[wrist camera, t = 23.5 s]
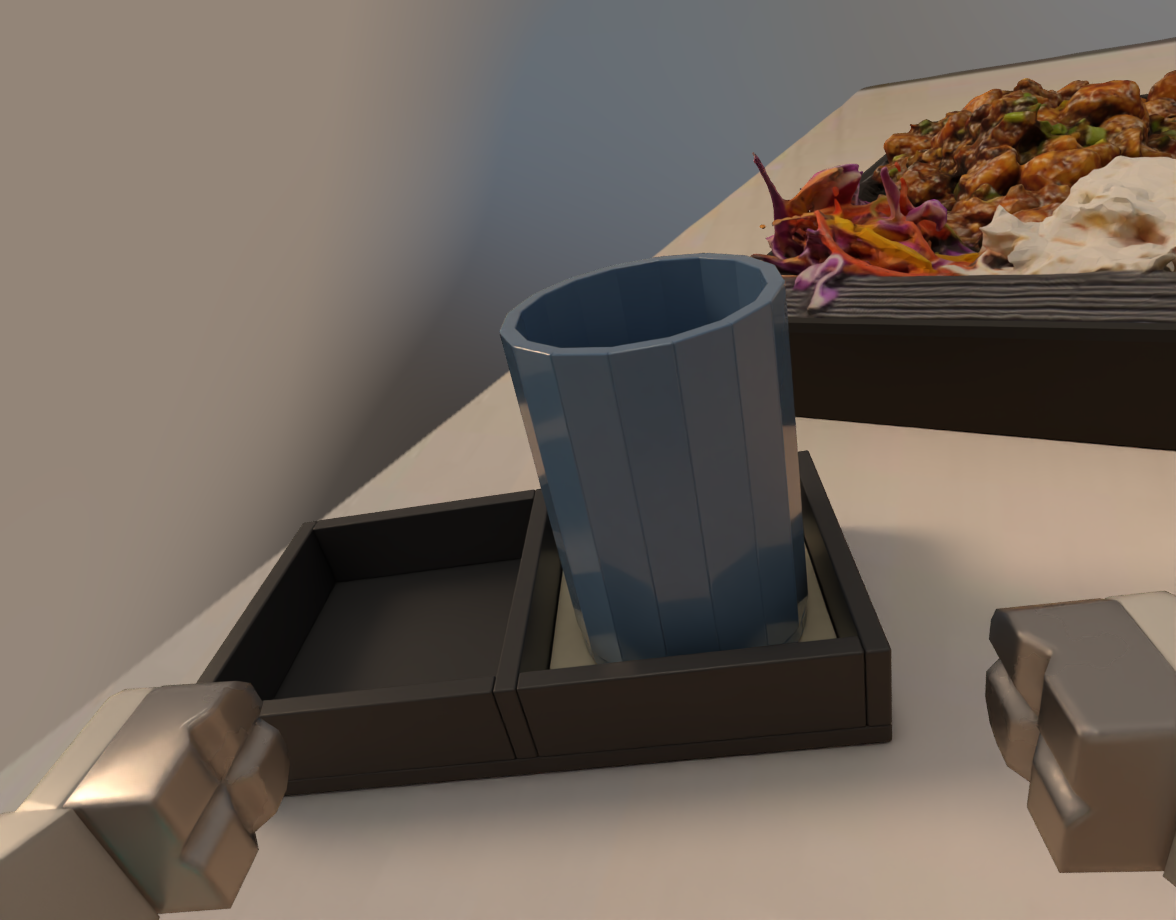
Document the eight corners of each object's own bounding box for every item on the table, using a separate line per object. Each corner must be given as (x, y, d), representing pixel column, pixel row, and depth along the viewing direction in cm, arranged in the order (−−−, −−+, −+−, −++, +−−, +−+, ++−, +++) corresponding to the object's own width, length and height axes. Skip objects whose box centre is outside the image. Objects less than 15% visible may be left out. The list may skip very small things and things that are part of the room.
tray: (216, 802, 21) (165, 726, 20) (332, 587, 30) (302, 522, 28) (892, 742, 19) (892, 649, 17) (813, 524, 27) (808, 449, 26)
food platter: (1423, 471, 23) (1562, 108, 18) (698, 407, 37) (667, 189, 32) (1284, 149, 54) (1322, -19, 49) (916, 179, 68) (918, 50, 63)
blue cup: (576, 710, 21) (479, 375, 16) (587, 558, 27) (519, 282, 22) (832, 682, 20) (809, 319, 15) (784, 532, 26) (758, 237, 21)
